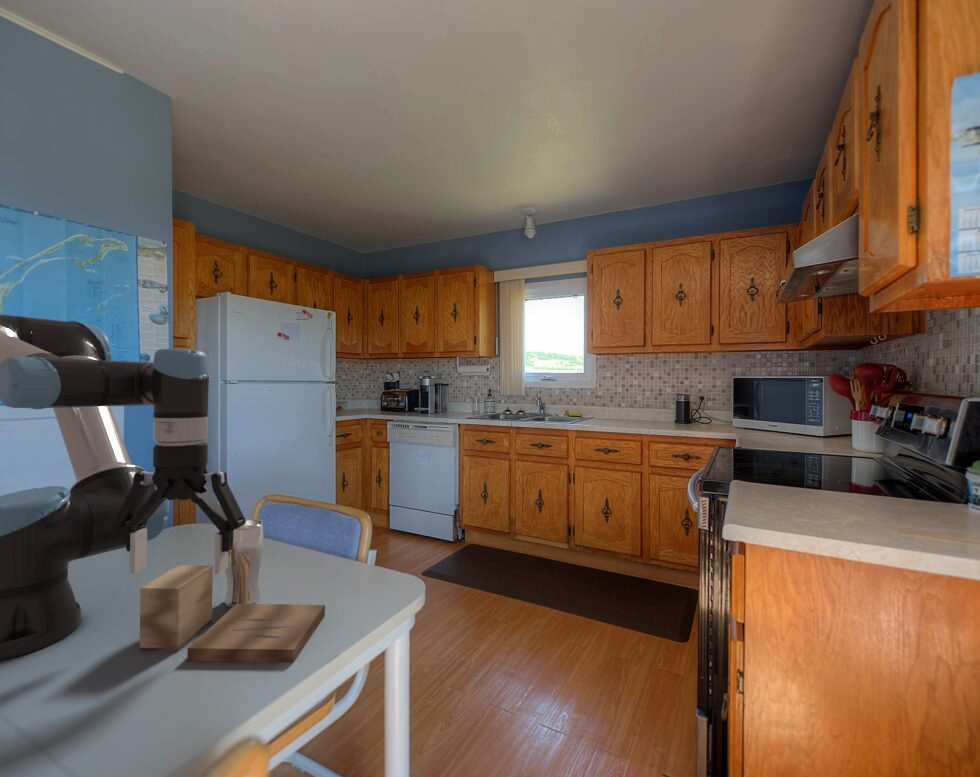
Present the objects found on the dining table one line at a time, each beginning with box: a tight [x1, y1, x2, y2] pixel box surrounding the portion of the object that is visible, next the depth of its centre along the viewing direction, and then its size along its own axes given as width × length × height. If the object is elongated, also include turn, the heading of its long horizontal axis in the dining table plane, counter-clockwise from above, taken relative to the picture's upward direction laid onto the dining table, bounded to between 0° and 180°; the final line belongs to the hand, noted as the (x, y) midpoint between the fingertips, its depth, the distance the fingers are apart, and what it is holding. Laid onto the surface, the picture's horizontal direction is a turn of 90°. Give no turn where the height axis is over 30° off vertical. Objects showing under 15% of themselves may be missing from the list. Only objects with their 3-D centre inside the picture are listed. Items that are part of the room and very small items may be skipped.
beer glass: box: [224, 518, 265, 609], centre depth 89 cm, size 7×7×15 cm
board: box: [186, 603, 326, 664], centre depth 77 cm, size 16×14×2 cm
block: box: [138, 564, 214, 653], centre depth 76 cm, size 6×9×10 cm, turn 1°
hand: (180, 570), depth 76 cm, fingers open, 13 cm apart
